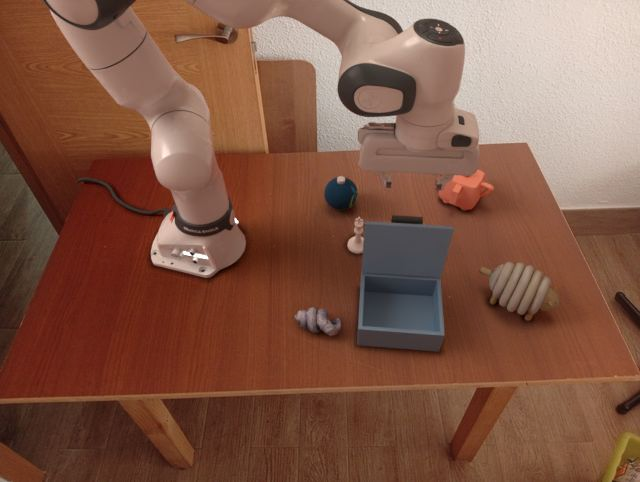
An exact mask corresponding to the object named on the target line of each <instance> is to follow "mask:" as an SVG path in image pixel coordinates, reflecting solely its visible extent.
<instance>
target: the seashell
mask: <svg viewBox="0 0 640 482" xmlns="http://www.w3.org/2000/svg"><path fill="white" fill-rule="evenodd" d="M293 316H294V318H295V321H296V323H297V325H299V326H300V327H301V328H302V329H303V330H308V331H310V332H311V333H313V334H316V333H320V332H321V331H322V332H324V334H326V335H327V336H330V337H333V336H335V335H337V334H338V333H339V332H340V331H341V330H340V329H341V328H342V321H341V319H340V318H339V316H337V317H335V318H334V319H333V320H330V318H329V317H328V316H329V314H328V310H327V309H325V308H319V309H317V308H316V307H314V306H310V307H309V308H308V309H306V310H305V309H300V310H299V309H298V311H297V312H296V314H295V315H293Z"/></svg>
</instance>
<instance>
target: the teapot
mask: <svg viewBox="0 0 640 482" xmlns="http://www.w3.org/2000/svg"><path fill="white" fill-rule="evenodd" d="M479 164H480V163H479ZM479 164H478V166H479ZM442 176H443V175H439V177H442ZM485 188H486V189H485ZM494 190H495V187H494V186H493V185H492V184H490V183H488V182H486V173H485V172H484V171H482V170H480V169H479V168H478V169H477V171H476V172H475V173H474V174H473V175H471V176H461V175H454V176H453V179H452V180H450V181H449V182H448V183H447V184H445V187H444V190H438V197H439V199H441V200H442V202H443V203H444V204H450V205H452V206H455V207H457V208H460V210H461V211H468V210H472V209H473V208H475V206H476V205H477V203H478V202H479V200H480V199H481V197H485V196H487V195H490V194H492V193H493V192H494Z"/></svg>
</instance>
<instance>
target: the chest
mask: <svg viewBox="0 0 640 482" xmlns="http://www.w3.org/2000/svg"><path fill="white" fill-rule="evenodd" d="M358 305H359V306H358V307H359V308H358V321H357V339H356V340H357V341H356V345H357V346H361V347H362V346H363V347H374V348H375V347H376V348H388V349H400V350H411V351H412V350H414V351H425V352H436V353H437V352H440V350H441V346H442V344H443V341H444V338H445V335H446V334H445V333H446V332H445V321H444V320H445V319H444V307H443V290H442V277H441V278H437V277H422V276H407V275H392V274H377V273H362V272H361V273H360V285H359V303H358Z"/></svg>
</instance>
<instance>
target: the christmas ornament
mask: <svg viewBox="0 0 640 482" xmlns="http://www.w3.org/2000/svg"><path fill="white" fill-rule="evenodd" d="M323 194H324V195H323V196H324V200H325V202H326V204H327V205H328V206H329V207H330V208H331V209H333V210H336V211H346V210H348V209H350V208H352V207H353V206H354V205H355V204H356V203H357V200H358V196H359V195H358V194H359V192H358V188H357V186H356V183H354V181H353V180H351V179H350V178H348V177H347V176H343V175H340V176H337V177H333V178H332V179H331V180H329V181H328V182H327V184H326V186H325V187H324V192H323Z"/></svg>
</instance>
